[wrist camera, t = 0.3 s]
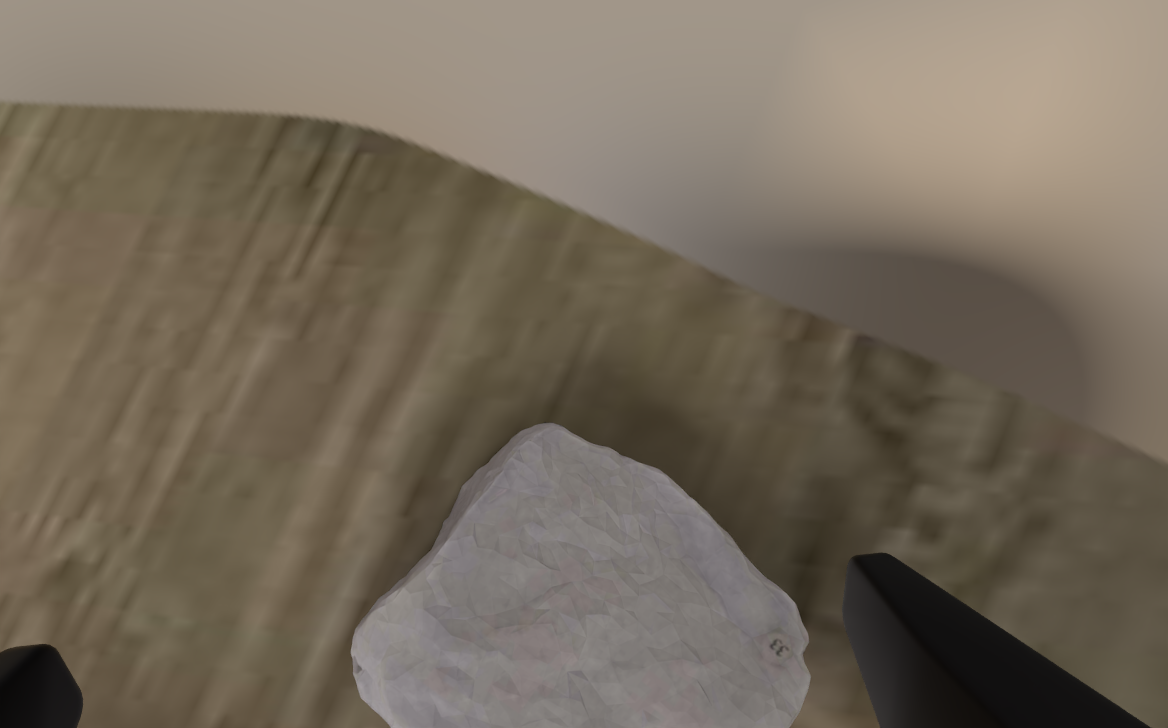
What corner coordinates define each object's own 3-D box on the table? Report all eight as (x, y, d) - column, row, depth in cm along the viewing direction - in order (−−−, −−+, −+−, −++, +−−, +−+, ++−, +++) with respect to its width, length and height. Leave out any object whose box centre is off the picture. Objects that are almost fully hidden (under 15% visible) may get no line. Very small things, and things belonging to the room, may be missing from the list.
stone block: (526, 401, 25) (339, 655, 22) (537, 372, 20) (303, 688, 18) (802, 599, 25) (648, 879, 22) (877, 615, 20) (694, 972, 17)
